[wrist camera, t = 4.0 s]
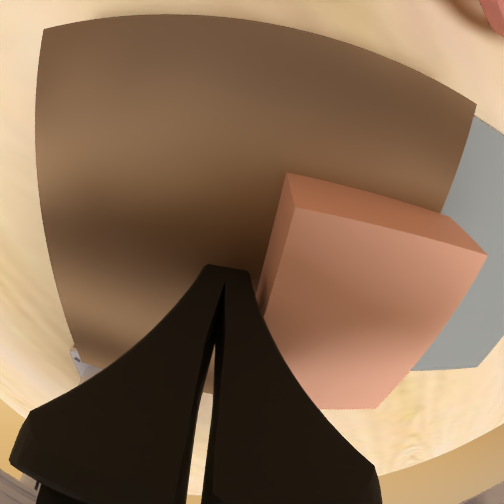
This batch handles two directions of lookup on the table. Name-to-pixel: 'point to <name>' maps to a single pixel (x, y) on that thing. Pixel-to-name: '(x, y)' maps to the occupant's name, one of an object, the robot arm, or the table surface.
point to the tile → (359, 287)
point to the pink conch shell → (494, 14)
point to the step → (211, 153)
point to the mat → (493, 244)
